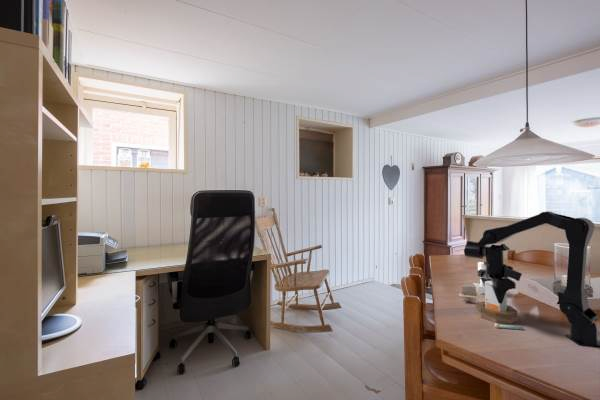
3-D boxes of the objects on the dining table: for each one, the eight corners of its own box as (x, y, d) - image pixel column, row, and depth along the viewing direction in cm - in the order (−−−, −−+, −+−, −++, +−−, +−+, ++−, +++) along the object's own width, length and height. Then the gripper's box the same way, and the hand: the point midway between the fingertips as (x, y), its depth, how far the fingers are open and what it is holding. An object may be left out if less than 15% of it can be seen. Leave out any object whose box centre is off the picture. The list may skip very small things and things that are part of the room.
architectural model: (478, 305, 124) (477, 288, 124) (460, 303, 126) (459, 287, 126) (476, 303, 127) (476, 286, 127) (459, 301, 129) (458, 285, 130)
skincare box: (484, 311, 112) (483, 281, 113) (492, 309, 114) (491, 280, 114) (500, 316, 107) (499, 285, 107) (507, 314, 108) (506, 283, 109)
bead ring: (522, 324, 103) (522, 314, 103) (484, 321, 106) (484, 312, 106) (506, 311, 115) (506, 302, 115) (472, 309, 118) (472, 301, 118)
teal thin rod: (521, 328, 100) (521, 324, 100) (524, 330, 98) (523, 326, 98) (493, 326, 102) (493, 322, 102) (495, 328, 100) (495, 324, 100)
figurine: (478, 295, 136) (477, 264, 136) (472, 289, 145) (471, 260, 145) (495, 296, 134) (494, 264, 134) (488, 290, 143) (487, 261, 143)
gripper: (531, 266, 100) (533, 310, 100) (506, 256, 118) (507, 293, 118) (496, 265, 102) (497, 308, 102) (476, 256, 121) (477, 292, 120)
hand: (495, 300), depth 111 cm, fingers closed on skincare box, 7 cm apart
